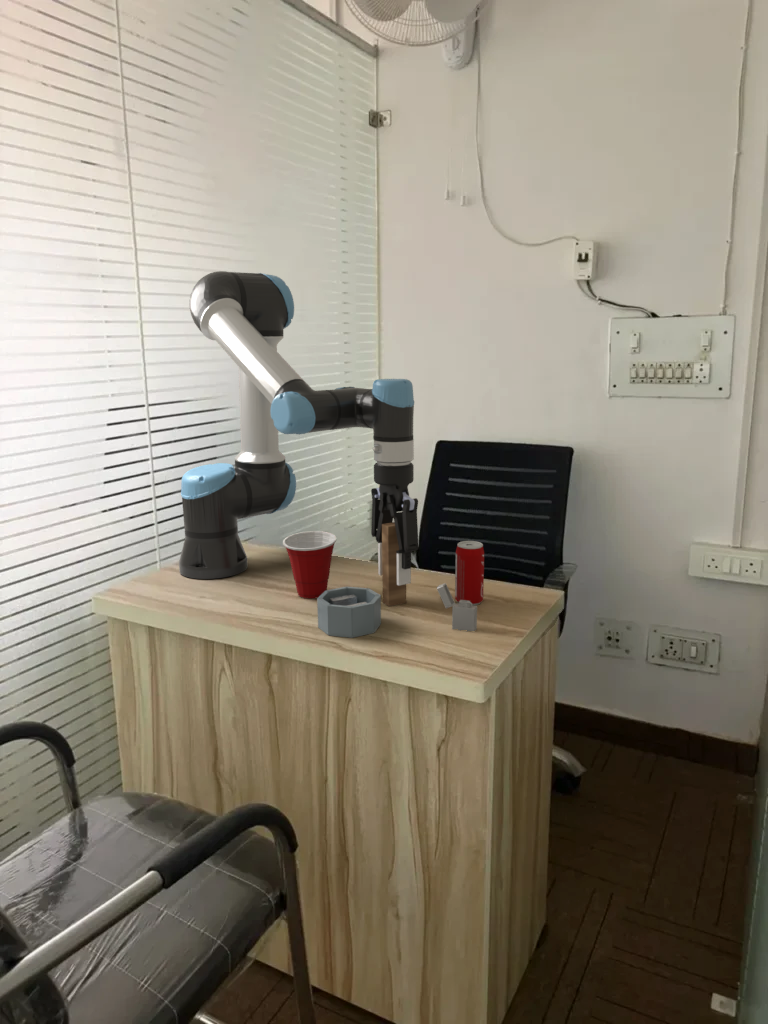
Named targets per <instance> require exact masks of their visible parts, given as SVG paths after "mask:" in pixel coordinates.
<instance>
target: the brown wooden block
mask: <svg viewBox="0 0 768 1024" xmlns="http://www.w3.org/2000/svg"><path fill="white" fill-rule="evenodd" d="M397 550H399V546H398V540H397V534H396V528H395V522H394V521H392V523H386V524H382V575H381V576H382V581H381V582H382V584H381V585H382V604H384V605H386V606H387V607H392V606H393V607H394V606H398V605H403V604H407V584H404V585H397V553H396V551H397Z"/></svg>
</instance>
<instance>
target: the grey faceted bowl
mask: <svg viewBox="0 0 768 1024" xmlns="http://www.w3.org/2000/svg"><path fill="white" fill-rule="evenodd" d="M351 594H354V595H355V596H357V603H361V602H366V603H365V604H360V605H355V606H343V605H332V604H330V601H329V599H330V598H335V597H340V596H346V595H351ZM381 596H382V595H381V594H379V593H378V592H376V591H374V590H373V589H371V588H368V587H367V588H366V587H358V586H357V587H356V586H342V587H336V588H332V589H327V590H326V591H324V592H323V593H322V594H321V595H320V596H319V597H318V598H316V601H317V602H316V603H317V606H316V607H317V627H318V629H320V630H321V631H322V632H323V633H324V634H326V635H328V636H330V637H331V636H332V637H341V638H353V639H354V638H357V637H361V636H366V635H371V634H374V633H376V631H377V630H378V628H380V626H381V624H382V615H381V614H382V609H381V608H382V606H381V603H382V599H381V598H382V597H381Z"/></svg>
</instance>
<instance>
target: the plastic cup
mask: <svg viewBox="0 0 768 1024" xmlns="http://www.w3.org/2000/svg"><path fill="white" fill-rule="evenodd" d="M336 542H337V536H336V535H335V534H334V533H332V532H327V531H322V530H311V531H310V530H309V531H301V532H297V533H293V534H290V535H288V536H286V537H285V538H284V539H282V545H283V546H284V548H285V549H286V552H287V556H288V557H289V562H290V566H291V567H290V568H291V570H292V576H293V579H294V583H295V588H296V593H297V595H298V597H300V598H302V597H303V599H317V598H318V597H319V596H320V595H321V594H322V593H323V592H324V591H326V590H328V585H329V579H330V572H331V566H332V565H331V564H332V557H333V552H334V547H335V543H336Z"/></svg>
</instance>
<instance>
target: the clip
mask: <svg viewBox="0 0 768 1024" xmlns="http://www.w3.org/2000/svg"><path fill="white" fill-rule="evenodd" d="M329 601H330V604H332V605H343V606H355V605H360V604H365V603H366V602H361V603H357V596H355V595H354V594H351V595H346V596H340V597H335V598H330V599H329Z"/></svg>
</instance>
